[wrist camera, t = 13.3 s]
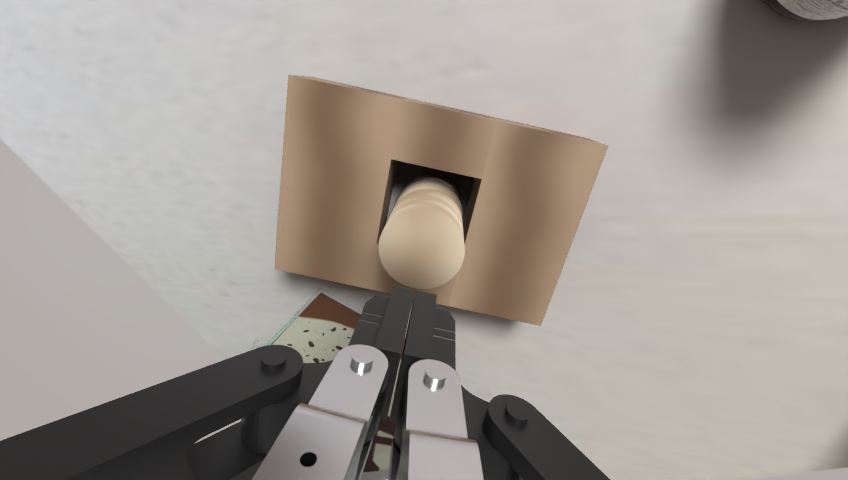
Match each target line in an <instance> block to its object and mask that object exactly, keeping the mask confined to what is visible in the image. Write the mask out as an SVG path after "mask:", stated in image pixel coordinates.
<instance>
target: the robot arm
mask: <svg viewBox="0 0 848 480" xmlns="http://www.w3.org/2000/svg"><path fill="white" fill-rule="evenodd" d="M413 294H414V289H409V288H405V287H400V286H396V285H394V286H393V289H392V292H391V296H390V299H387V298H383V297H378V296H375V297H373V298H372V299H370V300H369V301H367V302H366V304H365V306H364V309H363V311H362V313H361V316H360V318H359V321H358V323H357V325H356V328H355V330H354V332H353V335H352V337H351V340H350V342H349V344H348V347H345V348H343V349H342V350H340V351H339V352H338V354H337V355H336V357H335V359H333V360H331V361H327V362H321V363H303V358H302V356H301V354H300V353H299V352H298V351H297V350H295V349H293V348H291V347H288V346H284V345H267V346H263V347H260V348H257V349H254V350H251V351H248V352H246V353H243V354H240V355H237V356H235V357H232V358H229V359H226V360H224V361H221V362H218V363H215V364H213V365H210V366H207V367H204V368H201V369H199V370H196V371H193V372H190V373H187V374H185V375H182V376H179V377H176V378H174V379H171V380H168V381H166V382H163V383H160V384H157V385H154V386H151V387H149V388H146V389H143V390H141V391H137V392H135V393H132V394H129V395H126V396H124V397H121V398H118V399H116V400H113V401H110V402H107V403H104V404H102V405H99V406H96V407H93V408H90V409H88V410H85V411H82V412H79V413H77V414H74V415H71V416H68V417H66V418H63V419H60V420H57V421H54V422H51V423H49V424H46V425H43V426H41V427H38V428H35V429H32V430H29V431H26V432H24V433H21V434H18V435H16V436H13V437H10V438H7V439H5V440H2V441H0V480H360V479H361V476H362V473H363V470H364V467H365V464H366V461H367V458H368V454H369V451H370V448H371V445H372V441H373V437H374V436H375V434H376V432H377V429H378V425H379V420H385V421H387V416H388V412H389V407H390V403H391V398H392V394H393V389H394V385H395V380H396V376H397V371H398V367H399V362H400V358H401V353H402V348H403V343H404V338H405V333H406V329H407V324H408V319H409V314H410V309H411V304H412V299H413ZM436 298H437V294H433V293H428V292H424V291H419V290H416V293H415V297H414V302H413V306H412V311H411V315H410V320H409V324H408V329H407V333H406V338H405V343H404V348H403V353H402V358H401V363H400V368H399V373H398V378H397V383H396V388H395V393H394V398H393V403H392V408H391V413H390V418H389V421H390V422H395V423H396V427H395V433H394V437H393V441H392V445H391V452H390V463H389V474H388V480H610V479H609V478H608V477H607V476H606V475H605V474H604V473H603V472H602V471H601V470H599V469H598V468H597V467H596V466H595V465H594V464H593V463H592V462H591V461H590V460H589V459H588V458H587V457H586V456H585V455H584V454H583V453H582V452H581V451H580V450H579V449H578V448H577V447H575V446H574V445H573V444H572V443H571V442H570V441H569V440H568V439H567V438H566V437H565V436H564V435H563V434H562V433H561V432H560V431H559V430H558V429H557V428H556V427H555V426H554V425H552V424H551V423H550V422H549V421H548V420H547V419H546V418H545V417H544V416H543V415H542V414H541V413H540V412H539V411H538V410H537V409H536V408H535V407H534V406H532V405H531V404H530V403H528V402H527V401H525V400H523V399H521V398H519V397H516V396H513V395H498V396H496V397H494V398H493V399H492V400H491V401H490V403H489V402H486V401H484V400H482V399H480V398H478V397H476V396H474V395H472V394H471V393H469V392H468V391H467V390H466V389H465V388H464V387H463V386H462V385H461V381H460V377H459V375H458V374H457V372H456V371H455V320H454V319H453V317H452V316H451V314H450V312H448V311H443V310H439V309H436ZM239 419H241V422H239V423H236V424H235V425H232V426H230V427H228V428H226V429H224V430H222V431H220V432H218V433H216V434H214V435H212V436H210V437H208V438H206V439H204V440H202V441H200V442H197V443H195V442H196V441H198V440H199V439H201V438H202V437H204V436H206V435H208V434H210V433H212V432H214V431H216V430H219V429H221V428H223V427H225V426H227V425H229V424H231V423H233V422H235V421H237V420H239ZM194 443H195V444H194Z"/></svg>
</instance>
